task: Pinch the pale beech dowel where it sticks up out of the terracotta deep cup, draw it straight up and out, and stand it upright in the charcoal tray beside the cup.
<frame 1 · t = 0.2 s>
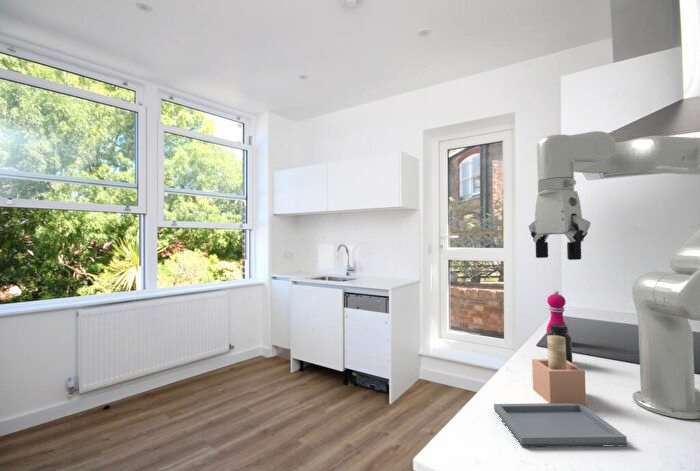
hand: (557, 258, 84), 35 cm above the countertop, tool pointing down, fingers open, 9 cm apart
supplement bottle: (560, 363, 112), on the countertop
tray: (554, 427, 75), on the countertop
deep cup: (558, 396, 89), on the countertop
dowel: (557, 366, 89), in the deep cup
pepper mill: (557, 343, 133), on the countertop
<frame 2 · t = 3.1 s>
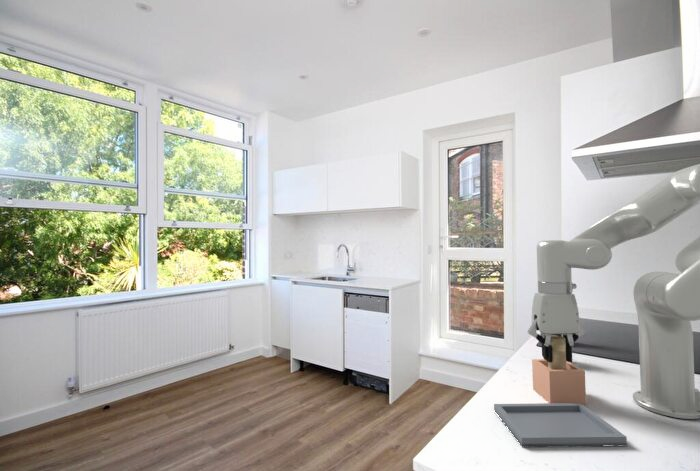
hand: (556, 359, 89), 9 cm above the countertop, tool pointing down, fingers closed on dowel, 4 cm apart
dowel: (557, 366, 89), in the deep cup, touching gripper
everything else where it was.
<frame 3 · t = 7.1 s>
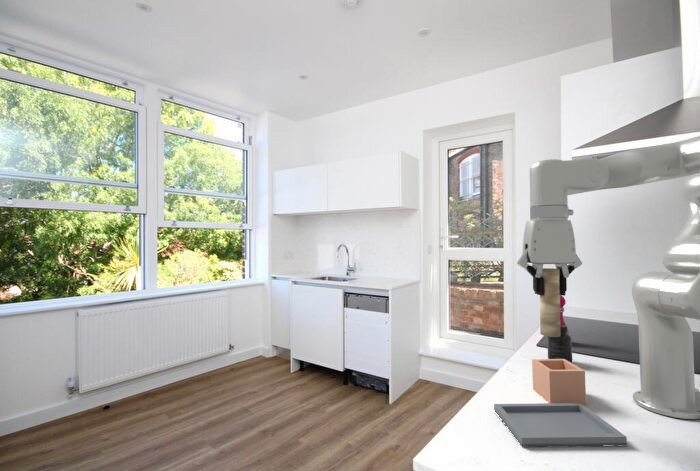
hand: (549, 293, 80), 28 cm above the countertop, tool pointing down, fingers closed on dowel, 4 cm apart
dowel: (549, 301, 80), point 26 cm above the countertop, touching gripper
everything else where it was.
when the fingers open (11 cm above the countertop, at t = 11.4 s): dowel drops 1 cm, resting on tray.
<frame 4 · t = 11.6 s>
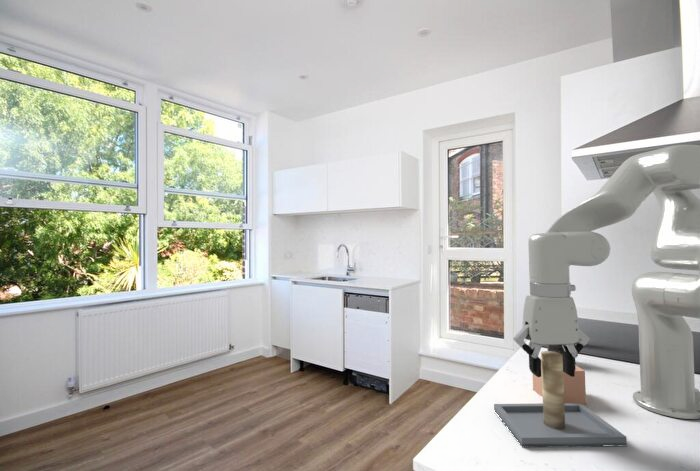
hand: (552, 373, 75), 11 cm above the countertop, tool pointing down, fingers open, 6 cm apart
dowel: (552, 389, 75), in the tray, point 8 cm above the countertop
everything else where it was.
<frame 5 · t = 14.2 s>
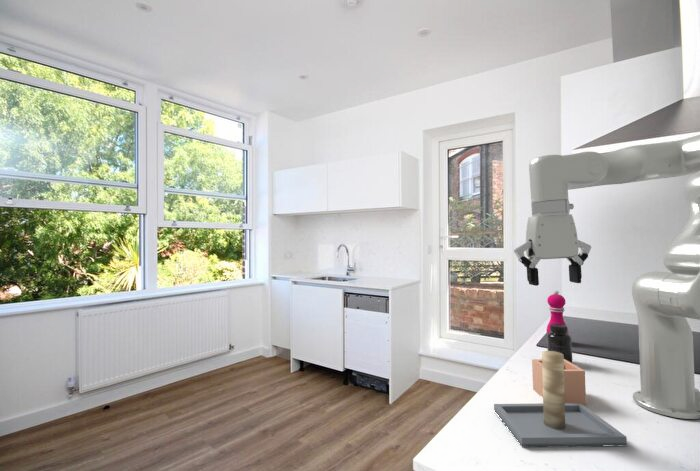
hand: (554, 283, 81), 30 cm above the countertop, tool pointing down, fingers open, 9 cm apart
nothing on the countertop moved.
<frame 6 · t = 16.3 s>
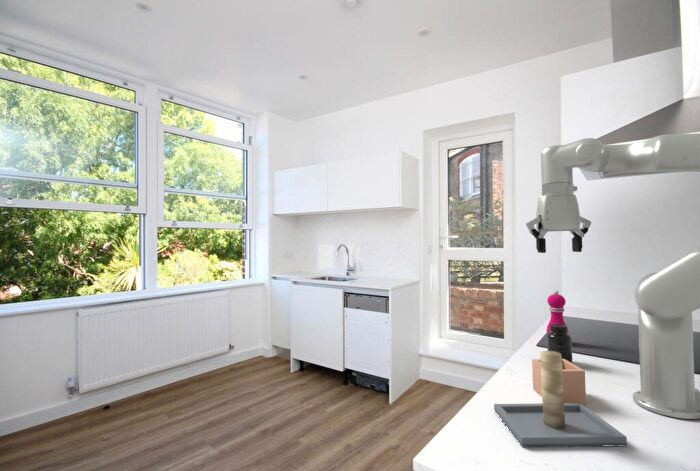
hand: (559, 252, 97), 36 cm above the countertop, tool pointing down, fingers open, 9 cm apart
nothing on the countertop moved.
at the end: dowel inside the target area on the tray (0.1 cm from its centre), point 8.1 cm above the tray's base; dowel tilted 1°; the gripper is holding nothing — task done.
